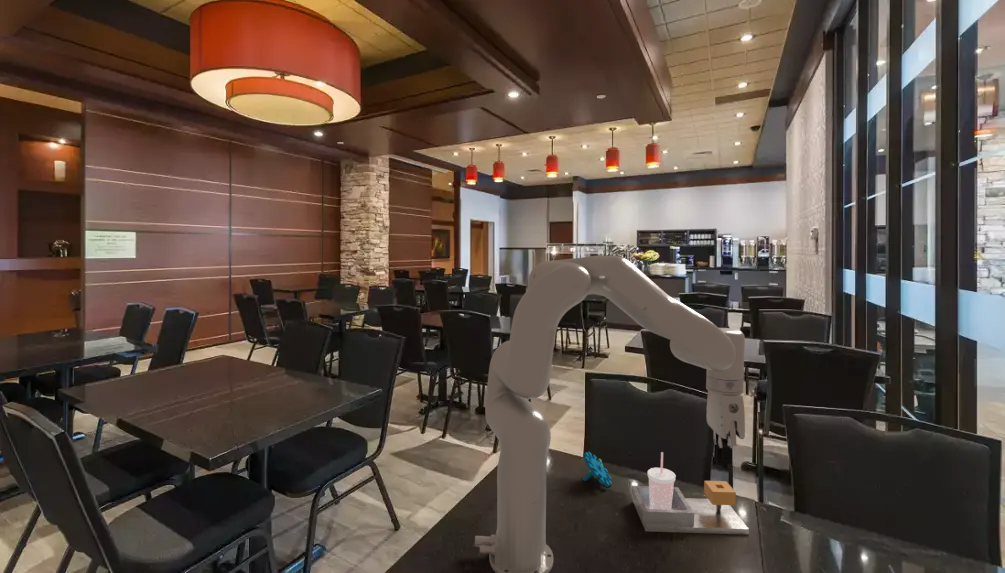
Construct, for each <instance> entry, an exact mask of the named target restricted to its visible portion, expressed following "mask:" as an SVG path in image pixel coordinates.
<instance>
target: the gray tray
mask: <svg viewBox="0 0 1005 573" xmlns="http://www.w3.org/2000/svg"><path fill="white" fill-rule="evenodd" d="M630 496H631V500H632V504H634V507H635V509H636V512H637V515H638V517H639V519H640V522H641V524H642V526H643V528H644V531H645V532H655V533H656V532H660V533H661V532H662V533H689V534H691V533H692V534H716V535H717V534H721V535H723V534H724V535H726V534H728V535H749V534H750V529H749V527H748V526H747V525H746V523H745V522H744V521H743V520H742V518H741V517H740V516H739V515H738V513H737V512H736V511H735V509H734V508H733V507H732V505H712V503H711V502H710V501H709V499H708V498H693V497H689V498H688V497H687V498H686V497H685V496H684V494H683V493H682V491H681V490H680V488H679V487H678V486H674V488H673V497H672V507H671V510H662V509H650V499H649V485H647V486H645V485H632V486H631V495H630Z"/></svg>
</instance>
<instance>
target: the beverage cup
mask: <svg viewBox="0 0 1005 573" xmlns="http://www.w3.org/2000/svg"><path fill="white" fill-rule="evenodd" d="M646 473H647V477H648V486H649V499H650V509H662V510H671V507H672V497H673V488H674V487H675V486H674V485H675V481H676V477H677V475H676V474H675V472H673V471H672V470H670V469H668V468H664V452H663V451H661V452H660V467H650V469H648V470H647V472H646Z"/></svg>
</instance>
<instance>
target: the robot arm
mask: <svg viewBox="0 0 1005 573" xmlns="http://www.w3.org/2000/svg"><path fill="white" fill-rule="evenodd" d="M589 295H597V296H600V297H601V296H603V297H605V298H606V299H608V300H609V301H610V302H611V303H612V304H614V305H615V306H616V307H617V308H619V310H621V311H622V312H624V313H625V314H626V315H627V316H628V317H629V318H630V319H631V320H633V321H634V322H635V323H636V324H638V325H639V326H640V327H642V328H643V329H645V330H647V331H649V332H651V333H653V334H655V335H657V336H659V337H662V338H666V339H667V340H669V348H670V349H669V350H670V351H671V353H672V355H673V356H674V358H677V359H678V360H680V362H681V361H682V362H683V363H687V364H690V365H693V366H696V367H699V368H702V369H704V370H705V369H706V374H705V375H706V377H705V378H706V380H705V381H706V382H705V388H706V390H707V396H706V397H707V398H706V423H707V425H708V426H709V427H710V428H711V430H712V431H713V443H714V447H713V448H714V449H713V460H714V462H715V463H716V464H717V465H731V464H732V455H733V454H732V450H733V447H737V446H738V444H737V438H738V439H739V440H744V439H745V438H746V420H745V419H746V418H745V417H746V415H745V412H746V411H745V404H744V403H745V402H744V396H743V394H744V383H745V382H744V381H745V380H744V379H745V378H744V375H745V346H746V345H745V343H746V340H745V334H744V333H743V332H742V330H739V329H737V328H730V327H729V328H728V327H718V326H717V325H716V324H714V323H713V322H712V321H710V320H709V319H708V318H706V317H705V316H703V315H702V314H700V313H698V312H697V311H695V310H694V309H692V308H690V307H688V306H687V305H685V304H684V303H682V302H681V301H679V300H677V299H675V298H674V297H672V296H670V295H669V294H667V292H665V291H664V290H663V289H662V288H660V286H659V285H657V284H656V283H655V282H654V281H652V279H651V278H649V276H647V275H646V274H645V273H644V272H643V271H641V269H639V268H638V267H637V266H636V265H635V264H634V263H632V262H631V261H630V260H629V259H627V258H625V257H622V256H618V255H591V256H583V257H574V258H567V259H566V258H565V259H556V260H545V261H542V262H540V263H537V264H536V265H535V266H534V267H533V268H532V270H531V271H530V273H529V276H528V290H526V292H525V293H524V294H523V295H522V297H521V298H520V300H519V301H518V304H517V305H516V308H515V310H514V312H513V313H514V314H513V318H512V322H511V329H510V333H509V334H510V335H509V340H507V341H504V342H502V343H501V344H500V345H498V346H497V348H495V350H494V352H493V353H492V356H491V359H490V363H489V368H488V378H487V386H486V396H485V397H486V398H485V403H484V404H485V406H484V408H485V409H484V410H485V411H484V412H485V413H484V414H485V419H486V422H487V425H488V427H489V428H490V429H491V431H492V432H493V433H494V435H495V436H496V438H497V439H498V441H499V444H500V446H499V447H500V451H499V456H498V462H497V468H496V469H497V470H496V471H497V473H496V476H497V477H496V485H497V486H496V487H497V489H496V491H497V496H496V499H497V501H496V502H497V503H496V504H497V506H496V508H497V510H496V511H497V512H496V513H497V516H496V517H497V518H496V520H497V521H496V522H497V523H496V524H497V525H496V528H497V529H496V530H495V531H496V532H495V534H490V536H488V535H487V536H485V535H475V536H474V547H479V554H484V555H485V554H488V555H489V566H490V567H491V568H492V571H494V573H550V572H551V570H552V569H553V565H554V554H553V550H552V549H551V548H550V546H549V545H548V544H547V543H546V536H547V535H546V534H547V533H546V532H547V531H546V529H547V527H546V526H547V525H546V524H547V522H546V521H547V467H548V465H547V464H548V455H549V450H550V446H551V438H552V437H551V435H552V433H551V427H550V424H549V422H548V420H547V418H546V416H545V415H544V413H543V412H542V411H541V410H540V409H539V408H538V407H537V406H536V405H534V403H532V402H531V401H529V400H531V399H537V398H539V397H541V396H542V395H544V394H545V392H546V391H547V390H548V388H549V385H550V381H551V377H552V376H551V375H552V365H553V359H554V358H553V356H554V348H555V339H556V334H557V329H558V326H559V323H560V321H561V320H562V318H563V317H564V316H565V314H566V313H567V312H568V311H570V310H571V309H572V308H573V307H575V306H577V305H578V304H580V303H581V302H583V301H584V300H585V299H586V297H587V296H589Z"/></svg>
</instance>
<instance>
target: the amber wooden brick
mask: <svg viewBox="0 0 1005 573" xmlns="http://www.w3.org/2000/svg"><path fill="white" fill-rule="evenodd" d="M703 482H704V483H703V494H704V496H706V499H709V501H710V502H711V503H712V505H730V506H736V501H737V498H736V497H737V492H736V491H735V490H734V488H733V487H732V486H731V485H730V484H729V483H728V482H727V481H726V480H725V481H724V480H723V481H722V480H704V481H703Z"/></svg>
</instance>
